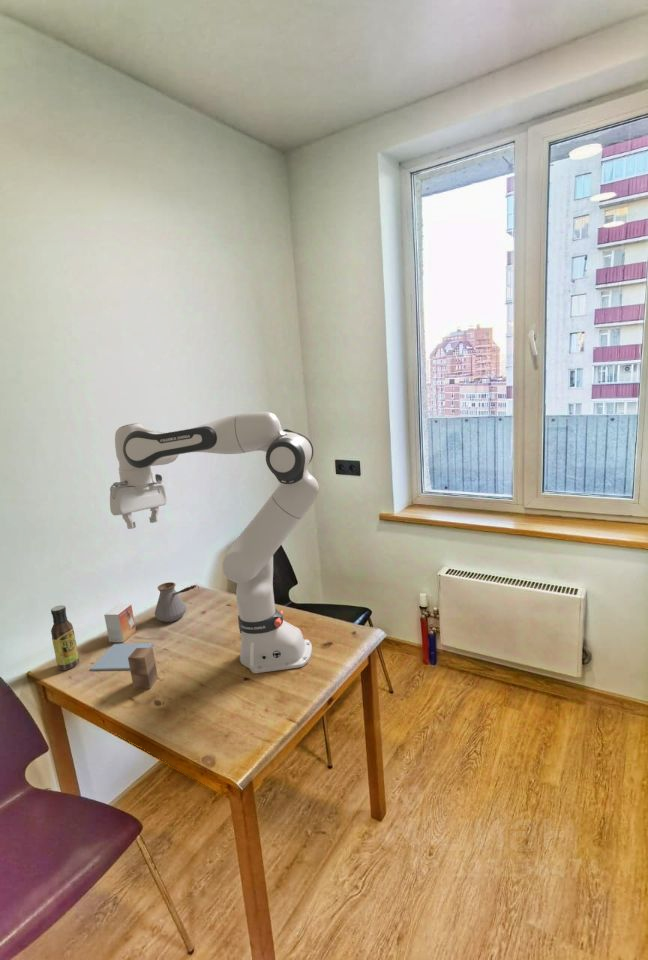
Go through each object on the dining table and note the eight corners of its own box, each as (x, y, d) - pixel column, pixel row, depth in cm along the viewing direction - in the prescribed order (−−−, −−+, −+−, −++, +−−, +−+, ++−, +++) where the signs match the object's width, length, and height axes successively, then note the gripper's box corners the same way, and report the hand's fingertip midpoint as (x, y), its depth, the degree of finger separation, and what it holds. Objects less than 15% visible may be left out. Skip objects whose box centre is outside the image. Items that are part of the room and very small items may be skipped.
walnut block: (158, 678, 140) (152, 647, 138) (150, 688, 135) (144, 657, 133) (142, 678, 140) (136, 648, 138) (133, 689, 136) (127, 657, 134)
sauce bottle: (68, 672, 147) (55, 614, 143) (53, 670, 149) (40, 612, 145) (84, 660, 153) (72, 604, 149) (70, 658, 155) (58, 602, 151)
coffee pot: (149, 622, 175) (142, 584, 172) (172, 608, 185) (166, 572, 182) (191, 632, 165) (185, 592, 162) (213, 616, 175) (208, 579, 172)
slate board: (152, 644, 159) (152, 643, 159) (132, 669, 145) (131, 667, 145) (114, 645, 161) (113, 644, 161) (90, 670, 147) (89, 668, 147)
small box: (123, 642, 162) (117, 614, 160) (109, 642, 163) (103, 614, 161) (136, 630, 170) (131, 603, 168) (123, 630, 171) (117, 603, 169)
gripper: (118, 482, 129) (126, 531, 130) (167, 475, 148) (173, 518, 149) (100, 484, 131) (108, 533, 132) (150, 477, 150) (157, 520, 151)
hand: (143, 525), depth 141 cm, fingers open, 8 cm apart
